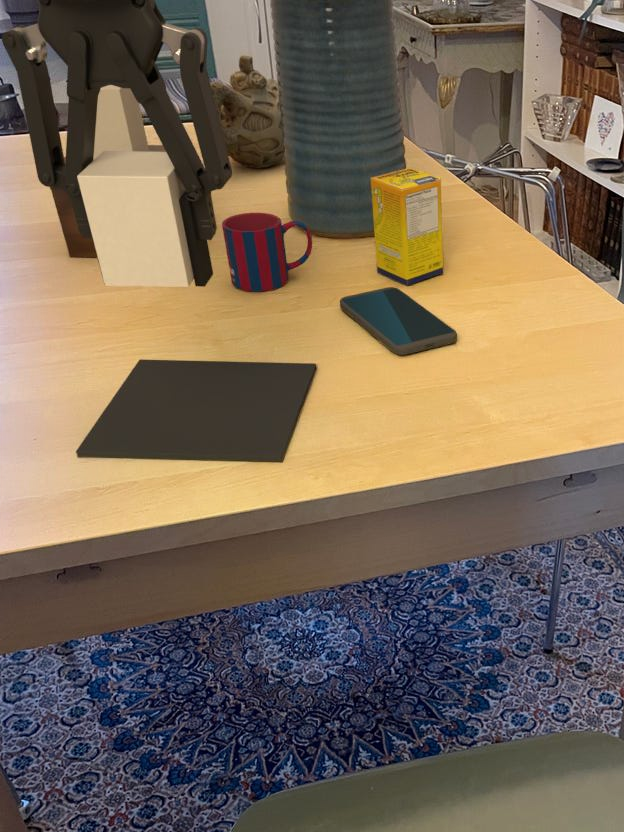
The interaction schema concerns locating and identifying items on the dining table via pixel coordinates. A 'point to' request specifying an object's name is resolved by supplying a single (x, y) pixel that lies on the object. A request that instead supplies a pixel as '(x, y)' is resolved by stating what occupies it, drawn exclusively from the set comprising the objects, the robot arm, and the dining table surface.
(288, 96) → the vase
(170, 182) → the upper box
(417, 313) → the smartphone
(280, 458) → the rubber mat
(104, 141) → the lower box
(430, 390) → the dining table surface
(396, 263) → the supplement box
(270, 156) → the teapot
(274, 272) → the mug
